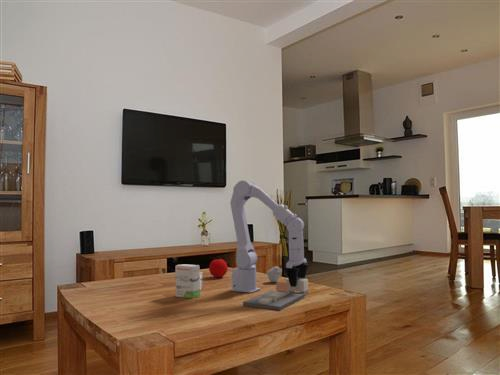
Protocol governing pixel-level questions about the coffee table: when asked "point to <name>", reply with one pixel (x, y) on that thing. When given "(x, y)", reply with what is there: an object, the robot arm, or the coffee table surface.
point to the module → (299, 286)
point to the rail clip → (282, 286)
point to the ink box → (187, 280)
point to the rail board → (274, 300)
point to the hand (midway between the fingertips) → (297, 284)
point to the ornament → (218, 268)
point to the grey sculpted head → (274, 274)
